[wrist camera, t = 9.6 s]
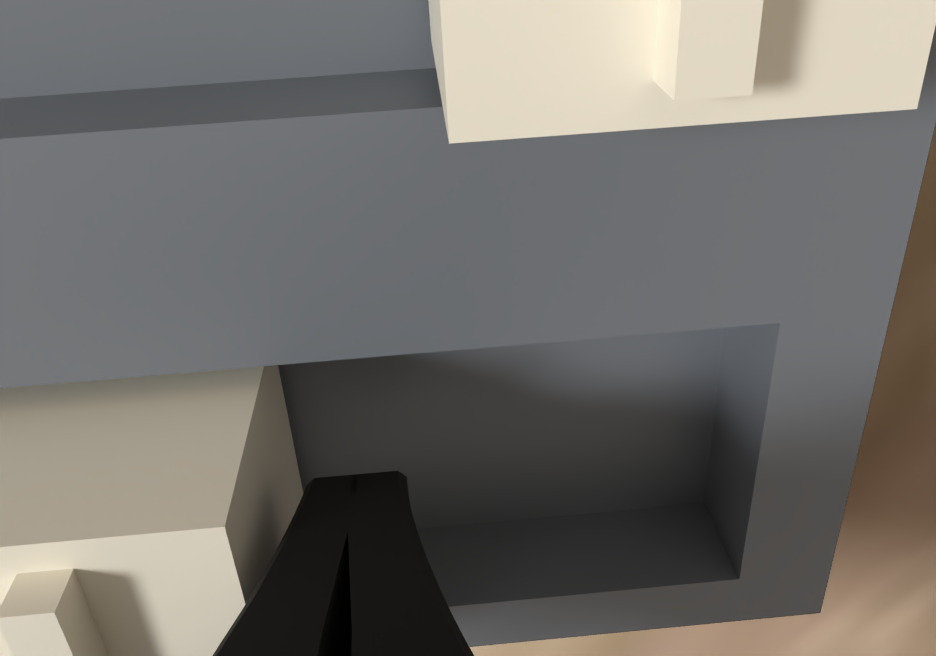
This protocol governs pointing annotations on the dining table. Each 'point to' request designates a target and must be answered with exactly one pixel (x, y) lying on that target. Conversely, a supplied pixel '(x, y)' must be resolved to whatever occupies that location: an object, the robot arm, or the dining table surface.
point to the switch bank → (467, 295)
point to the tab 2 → (671, 62)
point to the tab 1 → (140, 510)
